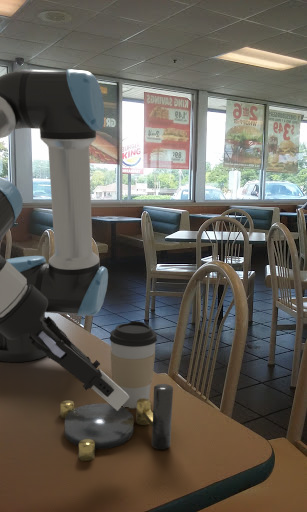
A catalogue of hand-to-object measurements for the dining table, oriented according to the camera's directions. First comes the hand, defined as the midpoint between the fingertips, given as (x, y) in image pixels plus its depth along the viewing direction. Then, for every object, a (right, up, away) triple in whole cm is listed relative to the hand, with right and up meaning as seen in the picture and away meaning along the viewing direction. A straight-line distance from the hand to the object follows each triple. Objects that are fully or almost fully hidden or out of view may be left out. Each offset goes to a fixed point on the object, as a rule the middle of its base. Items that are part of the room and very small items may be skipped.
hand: (122, 401), depth 72 cm
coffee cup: (+1, -6, +19) cm, 20 cm away
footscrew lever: (+5, -7, +7) cm, 11 cm away
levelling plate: (-4, -7, +8) cm, 11 cm away
